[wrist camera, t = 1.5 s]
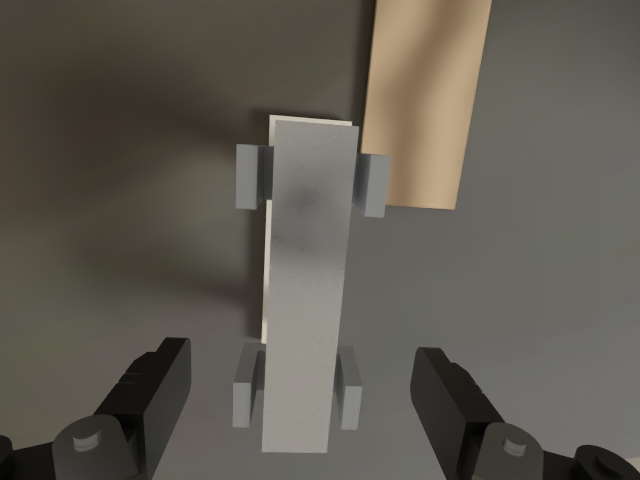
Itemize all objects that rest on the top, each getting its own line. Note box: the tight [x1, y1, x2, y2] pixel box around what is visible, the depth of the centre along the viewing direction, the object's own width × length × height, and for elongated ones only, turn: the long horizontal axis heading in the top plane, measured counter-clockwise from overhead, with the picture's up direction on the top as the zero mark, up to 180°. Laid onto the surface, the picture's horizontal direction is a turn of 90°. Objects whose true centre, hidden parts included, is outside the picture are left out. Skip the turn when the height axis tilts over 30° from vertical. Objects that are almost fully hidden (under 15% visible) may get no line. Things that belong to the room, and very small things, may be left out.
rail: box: [262, 120, 359, 453], centre depth 18 cm, size 4×17×4 cm, turn 176°
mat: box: [360, 0, 492, 210], centre depth 26 cm, size 8×19×1 cm, turn 176°
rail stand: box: [233, 115, 391, 430], centre depth 23 cm, size 7×19×12 cm, turn 176°
